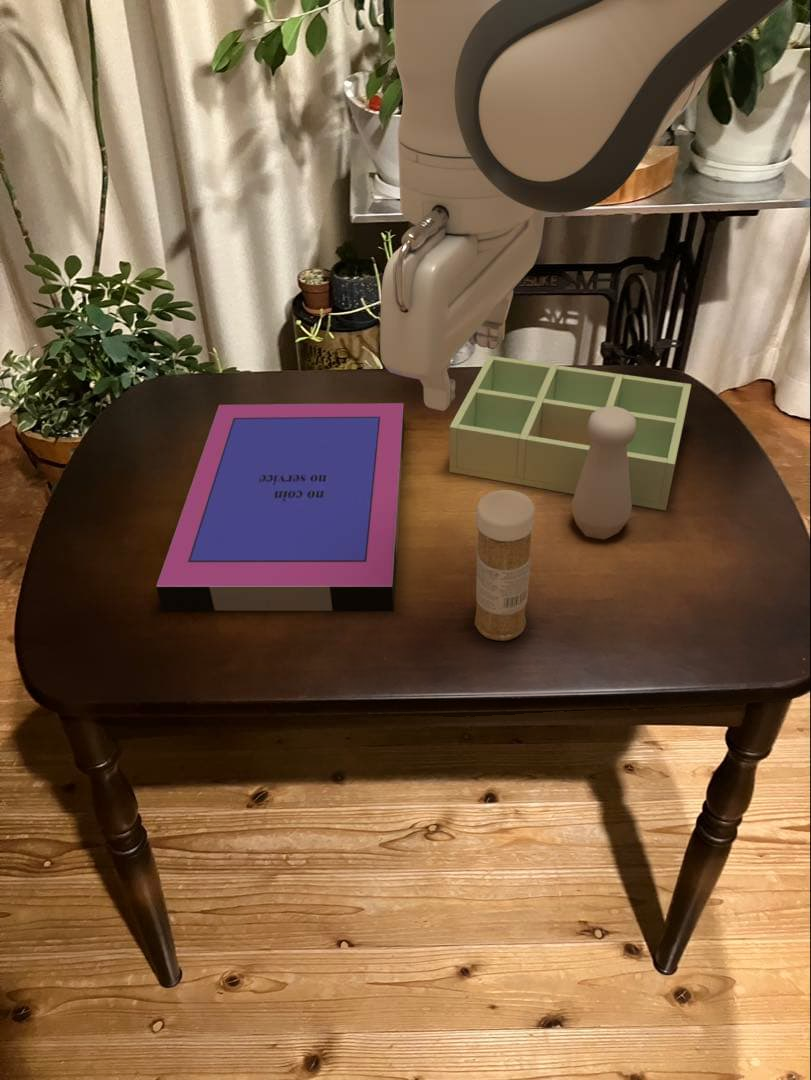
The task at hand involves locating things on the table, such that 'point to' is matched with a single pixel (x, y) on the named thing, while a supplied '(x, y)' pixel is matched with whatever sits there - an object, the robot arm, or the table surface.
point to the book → (291, 511)
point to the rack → (564, 426)
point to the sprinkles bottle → (503, 563)
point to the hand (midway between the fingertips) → (466, 372)
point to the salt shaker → (605, 475)
